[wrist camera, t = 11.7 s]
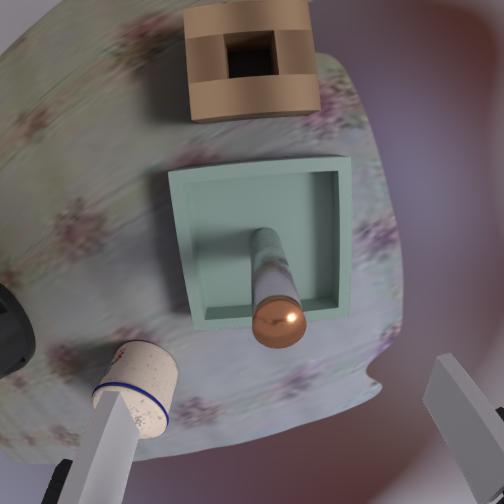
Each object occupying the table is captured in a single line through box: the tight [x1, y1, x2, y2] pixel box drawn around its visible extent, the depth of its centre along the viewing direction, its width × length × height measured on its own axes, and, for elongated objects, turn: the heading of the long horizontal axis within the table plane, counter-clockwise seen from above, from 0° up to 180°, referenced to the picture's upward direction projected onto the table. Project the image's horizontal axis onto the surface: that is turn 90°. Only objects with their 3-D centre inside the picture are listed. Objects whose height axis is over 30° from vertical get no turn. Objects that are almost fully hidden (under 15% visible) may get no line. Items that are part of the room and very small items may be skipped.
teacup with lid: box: [92, 341, 178, 439], centre depth 33 cm, size 12×9×12 cm
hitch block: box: [183, 0, 321, 124], centre depth 24 cm, size 10×10×6 cm
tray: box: [168, 155, 352, 330], centre depth 31 cm, size 16×16×4 cm
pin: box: [250, 227, 306, 348], centre depth 24 cm, size 3×3×15 cm
